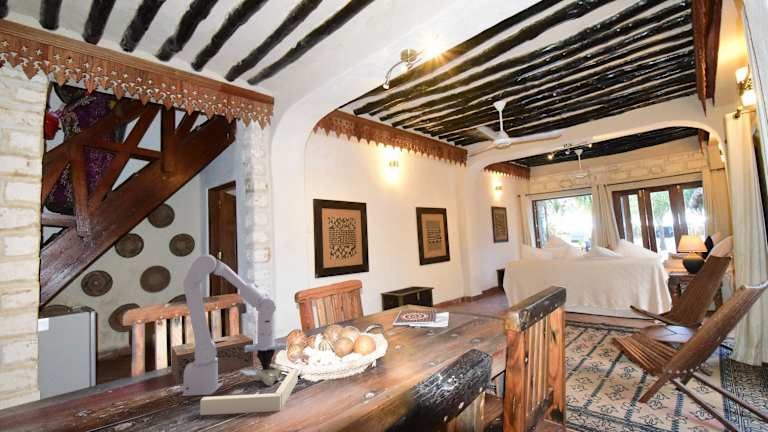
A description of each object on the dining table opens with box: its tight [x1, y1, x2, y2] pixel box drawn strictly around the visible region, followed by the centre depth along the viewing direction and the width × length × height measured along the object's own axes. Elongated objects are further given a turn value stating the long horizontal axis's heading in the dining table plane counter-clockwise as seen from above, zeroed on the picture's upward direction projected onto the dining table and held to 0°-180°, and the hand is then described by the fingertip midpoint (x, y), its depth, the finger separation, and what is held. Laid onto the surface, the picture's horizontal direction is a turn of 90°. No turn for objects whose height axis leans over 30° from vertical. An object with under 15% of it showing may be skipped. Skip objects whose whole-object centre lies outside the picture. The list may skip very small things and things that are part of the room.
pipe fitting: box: [254, 368, 283, 386], centre depth 116 cm, size 8×4×7 cm
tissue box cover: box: [170, 333, 254, 385], centre depth 132 cm, size 26×14×10 cm, turn 128°
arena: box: [199, 368, 299, 416], centre depth 106 cm, size 22×21×4 cm
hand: (266, 371), depth 121 cm, fingers closed
